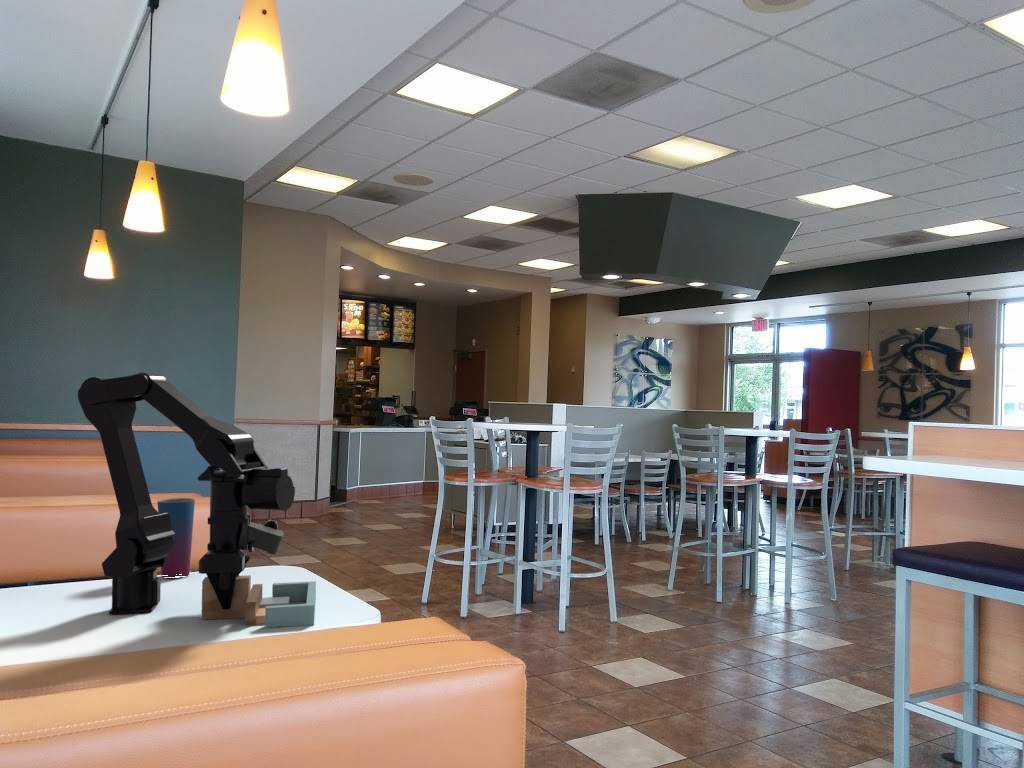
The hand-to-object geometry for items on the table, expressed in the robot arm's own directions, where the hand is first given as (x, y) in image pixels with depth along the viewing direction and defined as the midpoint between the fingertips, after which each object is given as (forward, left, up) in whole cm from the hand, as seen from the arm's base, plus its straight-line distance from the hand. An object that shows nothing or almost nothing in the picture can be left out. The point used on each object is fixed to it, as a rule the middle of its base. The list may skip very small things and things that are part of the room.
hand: (227, 606), depth 124 cm
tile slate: (+7, +4, -2) cm, 8 cm away
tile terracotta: (+7, -3, -2) cm, 8 cm away
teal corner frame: (+9, 0, -2) cm, 10 cm away
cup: (-14, +32, -2) cm, 35 cm away
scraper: (0, 0, -2) cm, 2 cm away
